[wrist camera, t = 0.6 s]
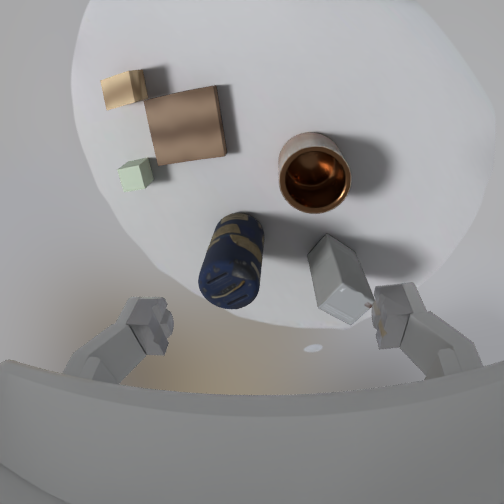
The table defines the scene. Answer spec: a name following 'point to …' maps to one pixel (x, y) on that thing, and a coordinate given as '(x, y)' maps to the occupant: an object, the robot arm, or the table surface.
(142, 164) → the green cube
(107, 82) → the oak cube
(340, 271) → the skincare box
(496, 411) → the robot arm
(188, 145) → the base plate
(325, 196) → the planter
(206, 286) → the canister
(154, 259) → the table surface
